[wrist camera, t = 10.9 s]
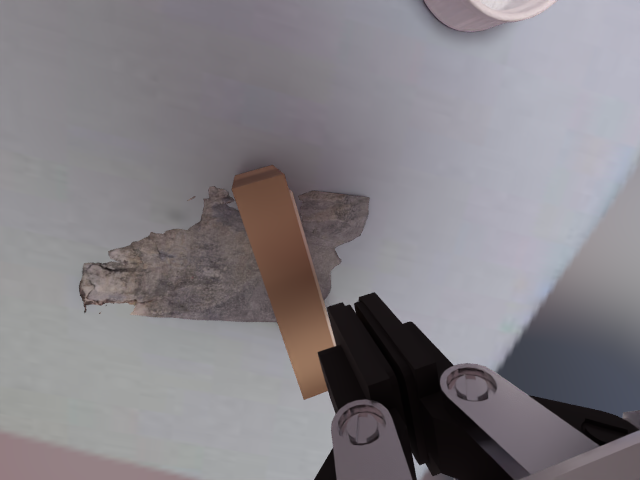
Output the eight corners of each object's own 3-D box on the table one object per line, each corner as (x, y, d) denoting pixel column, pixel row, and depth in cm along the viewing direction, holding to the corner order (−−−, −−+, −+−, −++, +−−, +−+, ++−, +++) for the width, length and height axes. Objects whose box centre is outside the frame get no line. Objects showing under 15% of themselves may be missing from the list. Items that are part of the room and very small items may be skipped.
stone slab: (371, 189, 23) (355, 326, 25) (363, 188, 25) (348, 315, 27) (71, 163, 20) (79, 325, 22) (87, 164, 21) (92, 313, 23)
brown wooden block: (234, 175, 21) (231, 189, 15) (275, 164, 21) (288, 172, 15) (288, 336, 25) (303, 399, 19) (322, 324, 25) (348, 383, 19)
